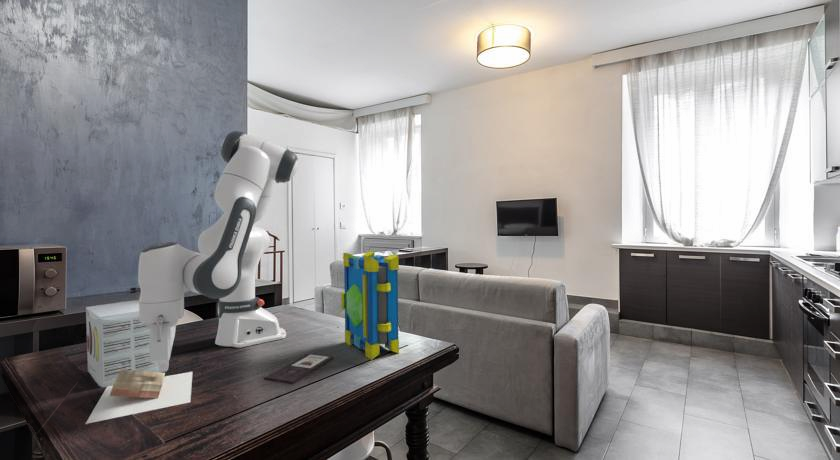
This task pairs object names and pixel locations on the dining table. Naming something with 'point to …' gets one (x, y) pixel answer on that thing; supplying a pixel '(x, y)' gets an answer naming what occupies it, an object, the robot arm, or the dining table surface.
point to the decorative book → (371, 302)
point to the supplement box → (116, 341)
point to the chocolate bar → (298, 369)
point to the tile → (137, 384)
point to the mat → (144, 399)
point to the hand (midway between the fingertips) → (163, 369)
